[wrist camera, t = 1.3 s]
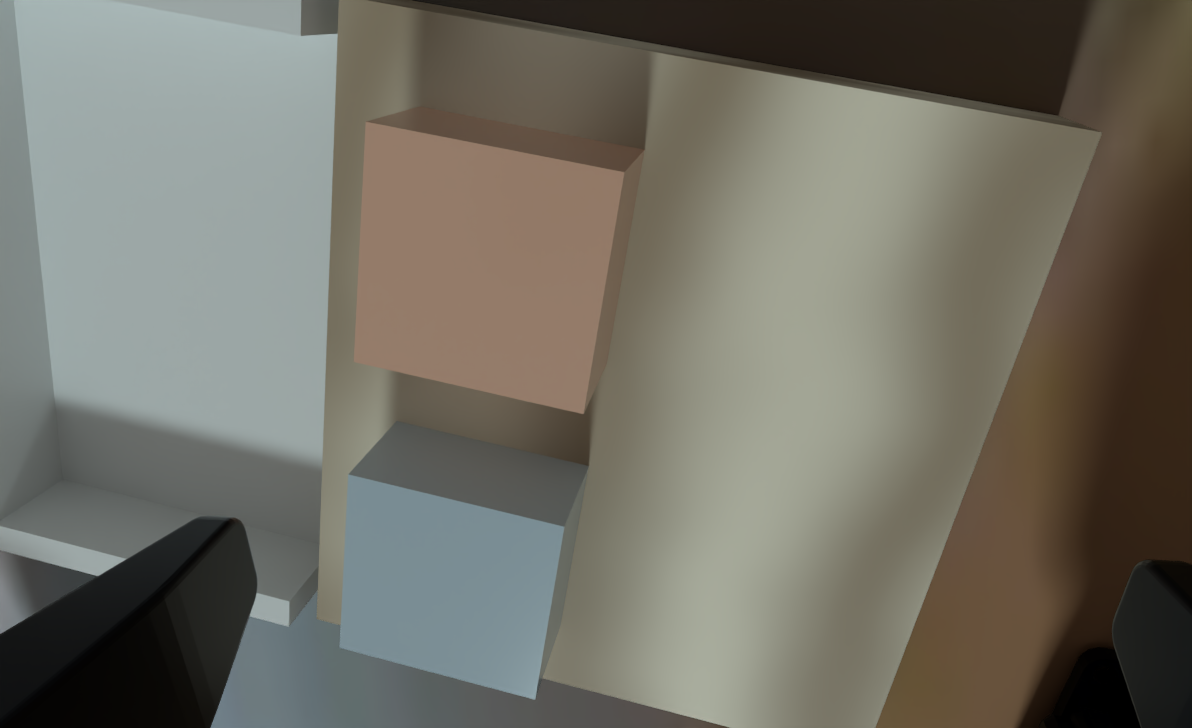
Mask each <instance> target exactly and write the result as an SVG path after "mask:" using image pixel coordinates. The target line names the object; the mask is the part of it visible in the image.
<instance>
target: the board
mask: <svg viewBox="0 0 1192 728" xmlns="http://www.w3.org/2000/svg"><path fill="white" fill-rule="evenodd" d="M419 106H420V107H425V108H431V109H436V110H441V111H446V112H451V113H457V114H462V115H467V116H472V117H477V118H483V119H488V120H493V121H498V122H503V123H509V124H514V125H519V126H524V127H529V128H535V129H540V130H545V131H550V132H555V133H561V134H566V135H571V136H576V137H581V138H587V139H592V140H597V141H602V142H607V143H613V144H618V145H623V146H628V147H634V148H639V149H644V150H645V151H644V157H643V162H642V168H641V174H640V179H639V185H638V191H637V196H636V202H635V208H634V213H633V219H632V225H631V230H630V236H629V242H628V247H627V253H626V258H625V264H624V270H623V275H622V281H621V287H620V292H619V298H618V304H617V309H616V315H615V321H614V326H613V332H612V338H611V343H610V349H609V355H608V360H607V365H606V367H605V369H604V371H603V373H602V375H601V378H600V380H599V382H598V384H597V386H596V388H595V391H594V393H593V395H592V397H591V399H590V401H589V403H588V406H587V408H586V410H585V412H584V414H580V413H576V412H571V411H567V410H563V409H558V408H554V407H549V406H545V405H541V404H536V403H532V402H527V401H523V400H519V399H514V398H510V397H506V396H501V395H497V394H492V393H488V392H484V391H479V390H475V389H470V388H466V387H462V386H457V385H453V384H448V383H444V382H440V381H435V380H431V379H426V378H422V377H418V376H413V375H409V374H404V373H400V372H396V371H391V370H387V369H382V368H378V367H374V366H369V365H365V364H360V363H356V362H354V347H355V327H356V307H357V286H358V266H359V246H360V226H361V206H362V186H363V165H364V145H365V125H366V121H370V120H373V119H377V118H380V117H384V116H388V115H391V114H395V113H398V112H402V111H405V110H409V109H412V108H416V107H419ZM1101 134H1102V132H1100V131H1097V130H1095V129H1092V128H1089V127H1087V126H1084V125H1081V124H1079V123H1076V122H1074V121H1071V120H1068V119H1066V118H1063V117H1061V116H1057V115H1051V114H1045V113H1040V112H1034V111H1029V110H1023V109H1017V108H1012V107H1006V106H1001V105H995V104H989V103H984V102H978V101H973V100H967V99H961V98H956V97H950V96H945V95H939V94H933V93H928V92H922V91H917V90H911V89H905V88H900V87H894V86H889V85H883V84H877V83H872V82H866V81H861V80H855V79H849V78H844V77H838V76H833V75H827V74H821V73H816V72H810V71H805V70H799V69H793V68H788V67H782V66H777V65H771V64H765V63H760V62H754V61H749V60H743V59H737V58H732V57H726V56H721V55H715V54H709V53H704V52H698V51H693V50H687V49H681V48H676V47H670V46H665V45H659V44H653V43H648V42H642V41H637V40H631V39H625V38H620V37H614V36H609V35H603V34H597V33H592V32H586V31H581V30H575V29H569V28H564V27H558V26H553V25H547V24H541V23H536V22H530V21H525V20H519V19H513V18H508V17H502V16H497V15H491V14H485V13H480V12H474V11H469V10H463V9H457V8H452V7H446V6H441V5H435V4H429V3H424V2H418V1H413V0H339V9H338V37H337V65H336V93H335V121H334V150H333V178H332V206H331V234H330V262H329V290H328V318H327V346H326V374H325V402H324V430H323V458H322V486H321V515H320V543H319V571H318V599H317V619H319V620H323V621H326V622H330V623H334V624H338V625H341V609H342V589H343V569H344V549H345V529H346V508H347V488H348V474H349V473H350V472H351V471H352V470H353V469H354V467H355V466H356V465H357V464H358V463H359V462H360V461H361V460H362V459H363V458H364V456H365V455H366V454H367V453H368V452H369V451H370V450H371V449H372V448H373V447H374V445H375V444H376V443H377V442H378V441H379V440H380V439H381V438H382V437H383V436H384V434H385V433H386V432H387V431H388V430H389V429H390V428H391V427H392V426H393V424H394V423H395V422H396V421H399V422H403V423H407V424H411V425H416V426H420V427H424V428H429V429H433V430H437V431H441V432H446V433H450V434H454V435H459V436H463V437H467V438H471V439H476V440H480V441H484V442H488V443H493V444H497V445H501V446H506V447H510V448H514V449H518V450H523V451H527V452H531V453H536V454H540V455H544V456H548V457H553V458H557V459H561V460H565V461H570V462H574V463H578V464H583V465H587V466H589V468H588V473H587V479H586V485H585V490H584V496H583V502H582V507H581V513H580V519H579V524H578V530H577V536H576V541H575V547H574V553H573V558H572V564H571V570H570V575H569V581H568V587H567V592H566V598H565V604H564V609H563V615H562V621H561V626H560V629H559V632H558V635H557V637H556V640H555V643H554V646H553V649H552V652H551V655H550V658H549V661H548V664H547V667H546V670H545V672H544V675H543V678H544V679H547V680H551V681H555V682H559V683H563V684H567V685H570V686H574V687H578V688H582V689H586V690H589V691H593V692H597V693H601V694H605V695H608V696H612V697H616V698H620V699H624V700H628V701H631V702H635V703H639V704H643V705H647V706H650V707H654V708H658V709H662V710H666V711H669V712H673V713H677V714H681V715H685V716H688V717H692V718H696V719H700V720H704V721H708V722H711V723H715V724H719V725H723V726H727V727H730V728H875V727H876V724H877V722H878V719H879V716H880V714H881V711H882V709H883V706H884V703H885V701H886V698H887V695H888V693H889V690H890V688H891V685H892V682H893V680H894V677H895V675H896V672H897V669H898V667H899V664H900V661H901V659H902V656H903V654H904V651H905V648H906V646H907V643H908V640H909V638H910V635H911V633H912V630H913V627H914V625H915V622H916V619H917V617H918V614H919V612H920V609H921V606H922V604H923V601H924V598H925V596H926V593H927V591H928V588H929V585H930V583H931V580H932V577H933V575H934V572H935V570H936V567H937V564H938V562H939V559H940V556H941V554H942V551H943V549H944V546H945V543H946V541H947V538H948V536H949V533H950V530H951V528H952V525H953V522H954V520H955V517H956V515H957V512H958V509H959V507H960V504H961V501H962V499H963V496H964V494H965V491H966V488H967V486H968V483H969V480H970V478H971V475H972V473H973V470H974V467H975V465H976V462H977V459H978V457H979V454H980V452H981V449H982V446H983V444H984V441H985V438H986V436H987V433H988V431H989V428H990V425H991V423H992V420H993V417H994V415H995V412H996V410H997V407H998V404H999V402H1000V399H1001V396H1002V394H1003V391H1004V389H1005V386H1006V383H1007V381H1008V378H1009V376H1010V373H1011V370H1012V368H1013V365H1014V362H1015V360H1016V357H1017V355H1018V352H1019V349H1020V347H1021V344H1022V341H1023V339H1024V336H1025V334H1026V331H1027V328H1028V326H1029V323H1030V320H1031V318H1032V315H1033V313H1034V310H1035V307H1036V305H1037V302H1038V299H1039V297H1040V294H1041V292H1042V289H1043V286H1044V284H1045V281H1046V278H1047V276H1048V273H1049V271H1050V268H1051V265H1052V263H1053V260H1054V257H1055V255H1056V252H1057V250H1058V247H1059V244H1060V242H1061V239H1062V237H1063V234H1064V231H1065V229H1066V226H1067V223H1068V221H1069V218H1070V216H1071V213H1072V210H1073V208H1074V205H1075V202H1076V200H1077V197H1078V195H1079V192H1080V189H1081V187H1082V184H1083V181H1084V179H1085V176H1086V174H1087V171H1088V168H1089V166H1090V163H1091V160H1092V158H1093V155H1094V153H1095V150H1096V147H1097V145H1098V142H1099V139H1100V137H1101Z"/></svg>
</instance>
